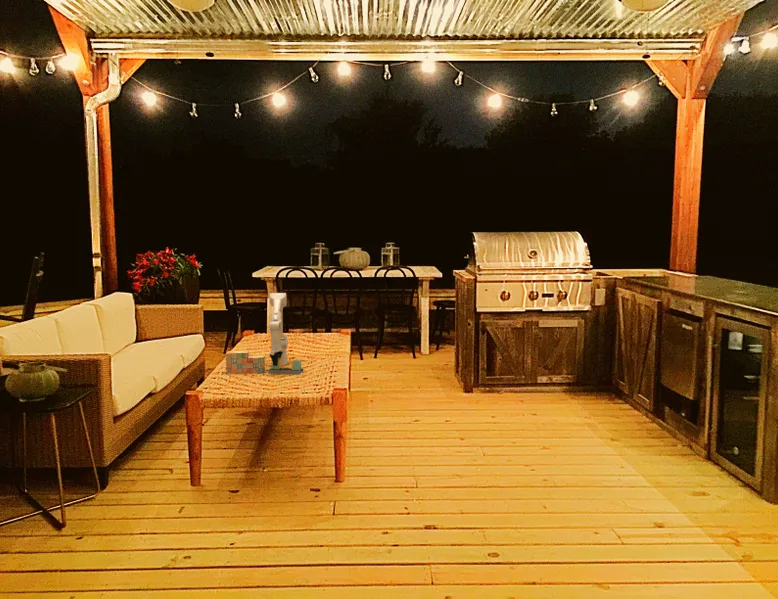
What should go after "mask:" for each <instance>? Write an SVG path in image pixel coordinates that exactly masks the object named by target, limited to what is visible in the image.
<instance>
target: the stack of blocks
mask: <svg viewBox="0 0 778 599" xmlns="http://www.w3.org/2000/svg"><path fill="white" fill-rule="evenodd" d="M249 351H250V350H234V351H233V350H232V351H230V350H228V351H227V352H226V353H225V366H226V367H225V368H226V374H227V373H244V374H262V373H261V372H264V371H265V372H266V370H265V369H266V367H265V366H266V365H265V364H266V363H265V361H266V360H265V357H266V356H265V355H250V352H249ZM265 372H264V373H265Z"/></svg>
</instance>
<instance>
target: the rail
mask: <svg viewBox="0 0 778 599" xmlns="http://www.w3.org/2000/svg"><path fill="white" fill-rule="evenodd" d="M267 371H268V374H269V373H283V374H282V375H299V374H301V373H302V374H303V373H304V371H305V370H304V368H302V360H301V359H294V360H293V361H291V367H281V368H280V369H272V367H270V368H269V369H268V370H267Z"/></svg>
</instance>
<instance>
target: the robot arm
mask: <svg viewBox="0 0 778 599" xmlns="http://www.w3.org/2000/svg"><path fill="white" fill-rule="evenodd" d="M269 304H270V306H271V307H273V311H272V312H271V317H270V322H269V332H270V333H269V334H270V353H269V357H270V359H271V362H272V363H273V366H277V364H278V357H279V358H282V366H285V365H286V364H288V363H289V361H288V353H287V349H288V346H289V345H288V337H287V335H285V334H284V333H283V329H284V328H283V326H284V324H283V322H284V321H283V309H284V307H287V293H286V292H270V293H269ZM272 363H271V366H272Z"/></svg>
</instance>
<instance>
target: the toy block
mask: <svg viewBox="0 0 778 599" xmlns="http://www.w3.org/2000/svg"><path fill="white" fill-rule="evenodd" d="M271 364H272V365H271V366H272V367H271V368H272V369H280V368H283V365H282V358H279V357H278V364H277V366H273V363H271Z"/></svg>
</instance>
